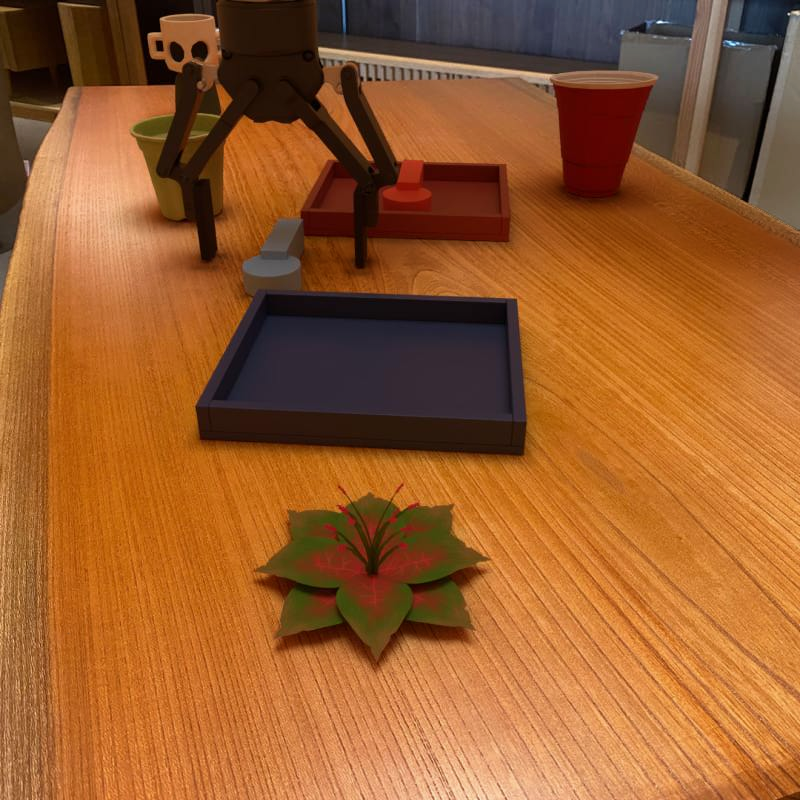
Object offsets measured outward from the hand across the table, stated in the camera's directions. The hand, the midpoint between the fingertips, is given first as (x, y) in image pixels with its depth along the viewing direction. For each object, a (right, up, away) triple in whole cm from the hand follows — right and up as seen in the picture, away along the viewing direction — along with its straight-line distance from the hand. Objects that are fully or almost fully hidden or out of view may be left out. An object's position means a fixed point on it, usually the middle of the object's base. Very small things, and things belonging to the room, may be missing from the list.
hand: (284, 258), depth 74 cm
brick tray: (+11, +7, +12) cm, 18 cm away
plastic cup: (+31, +10, +17) cm, 37 cm away
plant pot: (-11, +6, +11) cm, 17 cm away
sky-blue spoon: (0, -2, -2) cm, 3 cm away
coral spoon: (+11, +8, +11) cm, 18 cm away
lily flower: (+9, -21, -33) cm, 40 cm away
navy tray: (+8, -11, -17) cm, 22 cm away
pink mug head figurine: (-18, +26, +43) cm, 53 cm away
